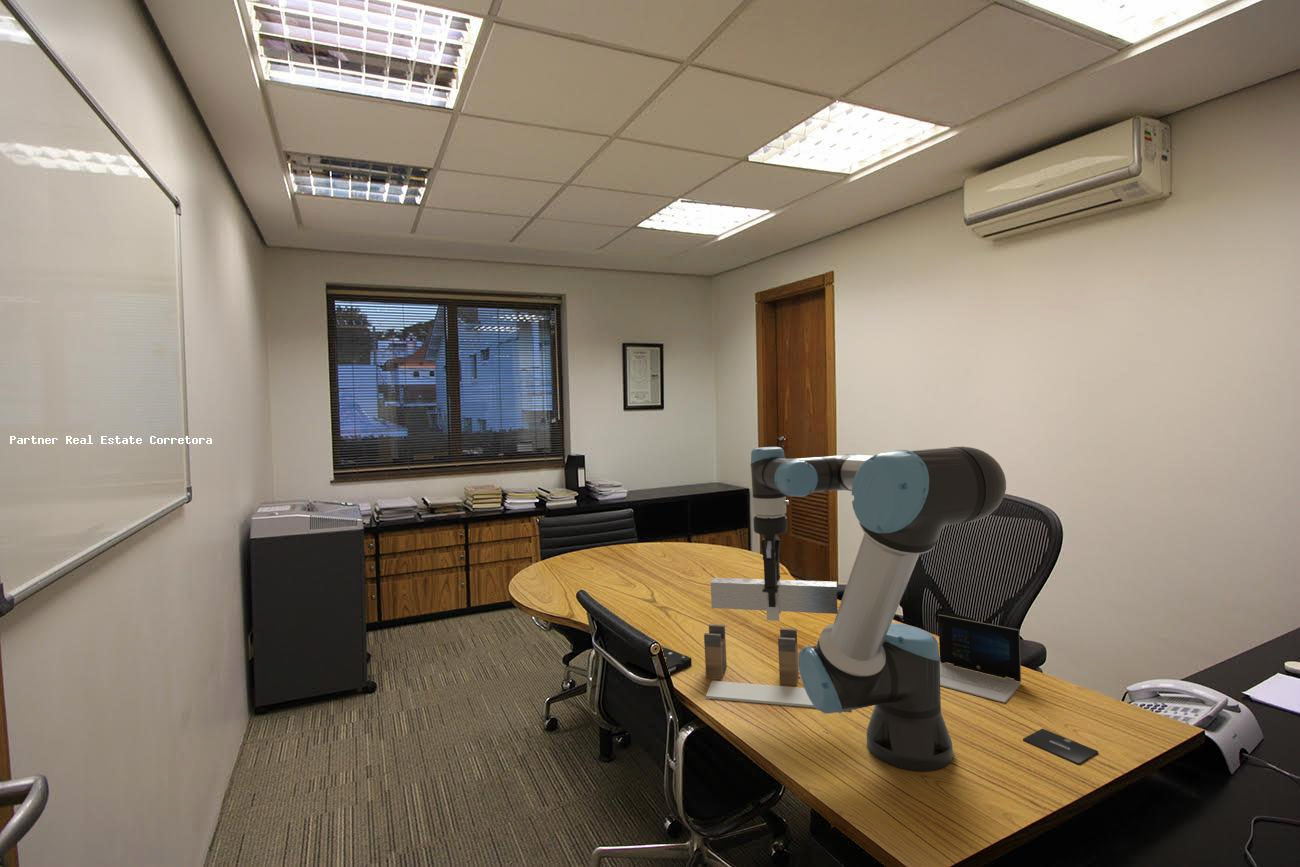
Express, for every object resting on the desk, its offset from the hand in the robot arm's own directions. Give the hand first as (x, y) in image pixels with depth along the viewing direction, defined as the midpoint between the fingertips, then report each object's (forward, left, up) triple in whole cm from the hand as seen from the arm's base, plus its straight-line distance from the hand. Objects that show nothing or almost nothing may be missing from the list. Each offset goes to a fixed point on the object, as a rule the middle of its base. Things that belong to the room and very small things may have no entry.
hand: (774, 616), depth 140 cm
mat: (0, 0, -19) cm, 19 cm away
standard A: (+10, -2, -19) cm, 21 cm away
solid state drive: (-11, -53, -19) cm, 58 cm away
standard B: (+10, +16, -19) cm, 26 cm away
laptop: (+15, -43, -19) cm, 49 cm away
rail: (0, 0, +2) cm, 2 cm away
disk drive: (+13, +32, -19) cm, 39 cm away
